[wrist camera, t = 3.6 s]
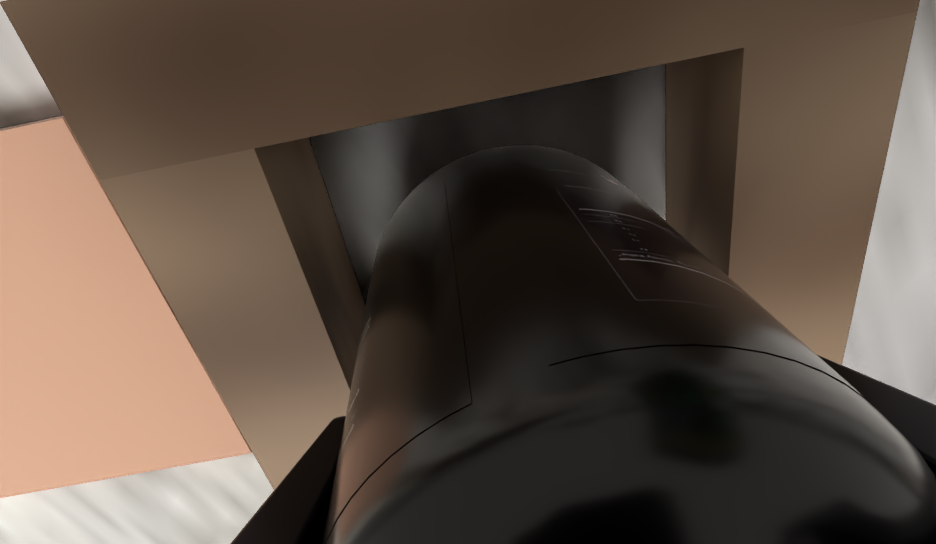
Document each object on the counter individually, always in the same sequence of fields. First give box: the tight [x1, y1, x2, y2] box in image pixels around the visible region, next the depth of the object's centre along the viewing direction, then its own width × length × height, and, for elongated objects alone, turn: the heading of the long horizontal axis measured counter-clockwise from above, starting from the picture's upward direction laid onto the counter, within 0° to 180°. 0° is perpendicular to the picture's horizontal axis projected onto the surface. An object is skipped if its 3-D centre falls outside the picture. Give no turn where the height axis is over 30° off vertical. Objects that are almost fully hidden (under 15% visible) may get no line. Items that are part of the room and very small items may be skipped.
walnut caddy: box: [0, 0, 920, 490], centre depth 13 cm, size 15×15×4 cm
